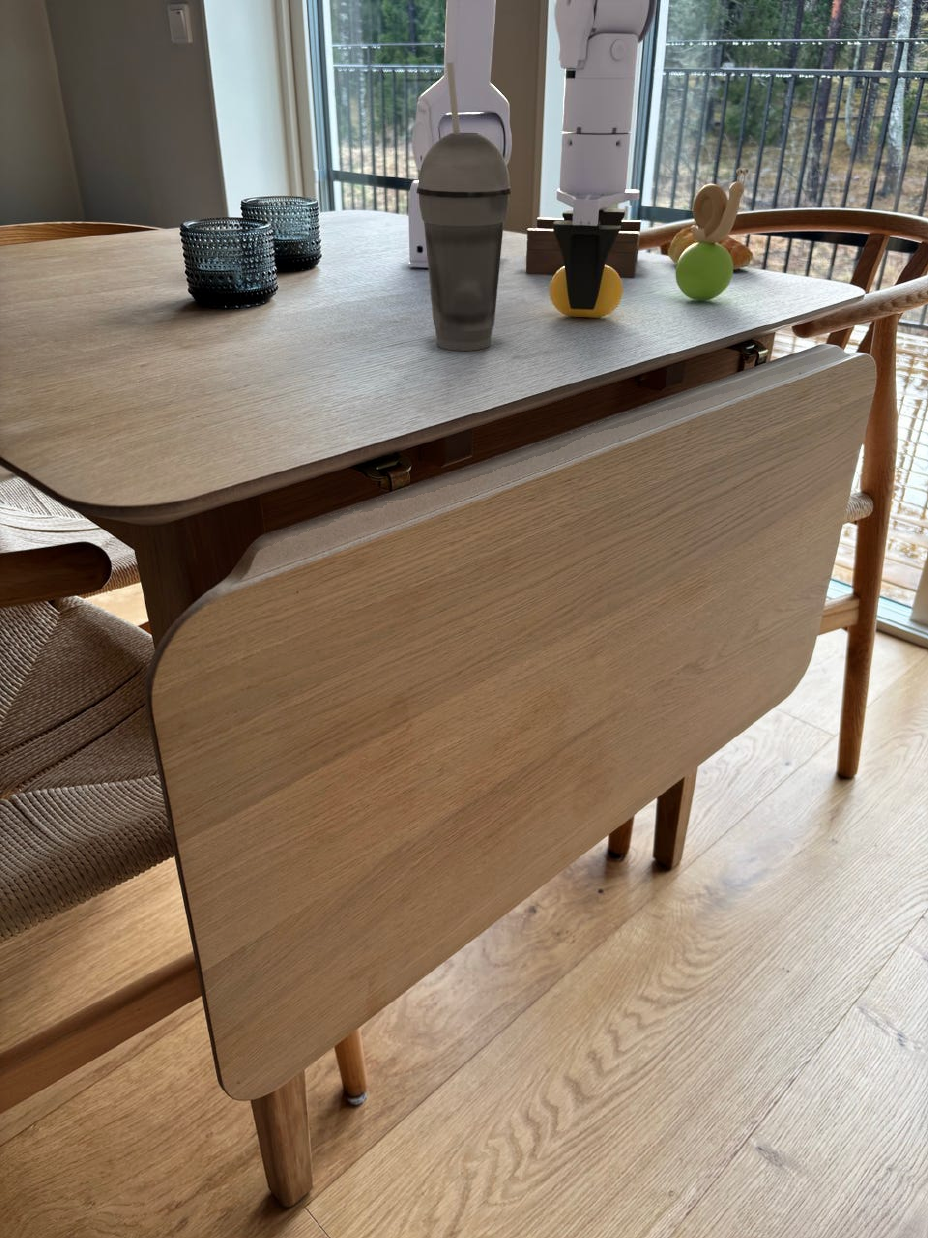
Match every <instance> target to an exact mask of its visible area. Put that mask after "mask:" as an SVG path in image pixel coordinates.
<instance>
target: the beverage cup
mask: <svg viewBox="0 0 928 1238" xmlns="http://www.w3.org/2000/svg"><path fill="white" fill-rule="evenodd" d="M447 70H448V81H449V92H450V103H451V112H450V113H451V114H452V125H453V133H450V134H448V135H446V136H444V137H442V138H441V139H440V140H438V141H437V142H436V143H435V144H434V145H433V146H432V147H431V149H430V150H429V152H428V153H427V154H426V157H425V159H424V161H423V163H422V166H421V169H420V171H419V175H418V180H419V184H418V187H417V192H416V193H418V194H419V205H420V210H421V216H422V220H423V221H424V227H425V237H426V248H427V258H428V268H427V269H428V278H429V288H430V289H429V290H430V299H431V310H432V321H433V326H434V333H435V336H436V346H437V347H439V348H441V349H444V350H448V351H457V352H458V351H459V352H460V351H461V352H470V351H479V350H480V351H481V350H484V349H487V348H489V347H490V346H492V335H493V328H494V325H495V317H496V308H497V307H496V305H497V296H498V287H499V286H498V285H499V277H500V275H499V274H500V265H501V255H502V245H503V244H502V243H503V236H504V235H503V233H504V226H505V225H504V224H505V222H506V219H507V214H508V209H509V205H510V204H509V203H510V195H511V194H512V188H511V186H510V175H509V169H508V165H507V166H506V163H505V160H504V158H503V156H502V154H501V153H500V151H499V150H498V148H497V147H496V146H495V145H494V144H493V143H492V142H491V141H490V140H489V139H487V138H486V137H484V136H482V135H480V134H478V133H460V126H459V116H458V113H459V112H458V105H457V94H456V83H455V72H454V62H450V63H447Z"/></svg>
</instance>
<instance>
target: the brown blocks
mask: <svg viewBox="0 0 928 1238" xmlns="http://www.w3.org/2000/svg"><path fill="white" fill-rule="evenodd" d="M555 220H557V221H564V218H563V217H561V218H559V217H537V219H536V228H527V230H526V249H525V250H526V254H525V257H526V258H525V274H533V275H534V274H535V275H538V274H539V275H555V273H556V272H557V271H558V270H559V269H561V268H562V267H563V266H564V261H563V257H562V253H561V249H560V247H559V244H558V241H557V239H556V237H555V234H554V231H553V223H554V222H555ZM641 225H642V221H641V220H633V219H631V220H630V219H629V220H628V219H627V220H626V219H623V220H622V222H621V224H620V226H621V230H620V232H619V234H618V235H617V237H616V239H615V241H614V243H613V245H612V247H611V249H610V252H609V256H608V260H607V266H609V267H611V268H613V269H614V270H615V271H616V272H617V273H618V275H619V276H620V278H635V277H636V271H637V264H638V258H639V247H640V235H641V227H642V226H641Z"/></svg>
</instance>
